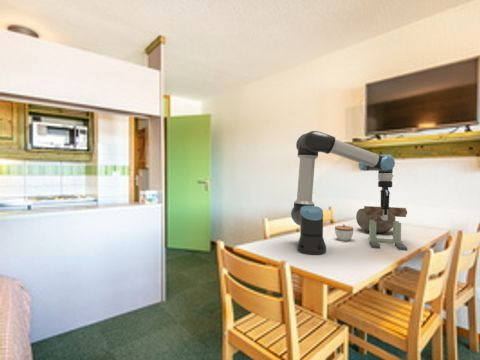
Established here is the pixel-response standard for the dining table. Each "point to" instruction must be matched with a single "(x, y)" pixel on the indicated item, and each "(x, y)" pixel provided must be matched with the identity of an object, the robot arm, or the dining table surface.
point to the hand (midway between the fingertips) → (384, 219)
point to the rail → (379, 211)
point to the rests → (398, 245)
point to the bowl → (380, 224)
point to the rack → (373, 238)
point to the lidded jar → (344, 232)
